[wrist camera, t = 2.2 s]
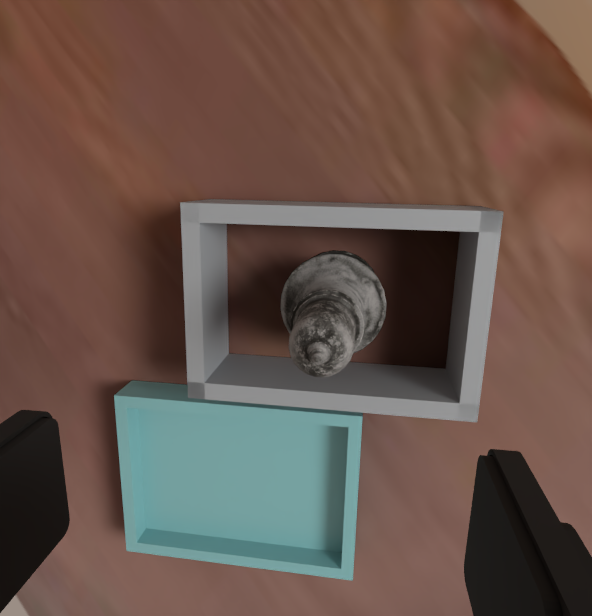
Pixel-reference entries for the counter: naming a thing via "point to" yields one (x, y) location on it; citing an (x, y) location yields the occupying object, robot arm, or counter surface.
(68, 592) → the counter surface
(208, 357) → the deep rectangular frame
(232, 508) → the tray
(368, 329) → the grey stone turned piece
